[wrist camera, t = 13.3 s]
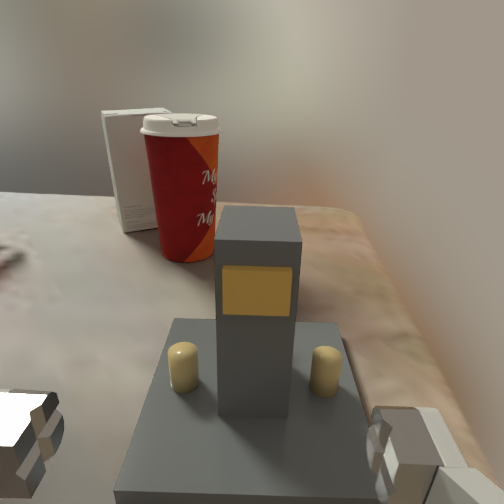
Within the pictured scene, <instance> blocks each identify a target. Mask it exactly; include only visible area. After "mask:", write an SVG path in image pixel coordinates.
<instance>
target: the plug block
mask: <svg viewBox="0 0 504 504" xmlns="http://www.w3.org/2000/svg"><path fill="white" fill-rule="evenodd" d="M301 253H302V238H301V234H300V230H299V226H298V222H297V218H296V214H295V209H294V208H293V207H257V206H224V208H223V211H222V215H221V218H220V221H219V225H218V228H217V231H216V235H215V238H214V255H215V301H216V347H217V393H218V416H240V417H268V418H288V408H289V396H290V384H291V372H292V360H293V348H294V336H295V324H296V312H297V300H298V289H299V277H300V265H301Z"/></svg>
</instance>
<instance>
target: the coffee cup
mask: <svg viewBox="0 0 504 504" xmlns="http://www.w3.org/2000/svg"><path fill="white" fill-rule="evenodd" d="M140 132H141V133H142V134H144V139H145V145H146V152H147V159H148V166H149V172H150V179H151V186H152V192H153V199H154V206H155V212H156V219H157V225H158V232H159V238H160V244H161V249H162V254H163V256H164V257H165V258H166V259H168V260H170V261H174V262H180V263H191V262H198V261H202V260H204V259H207V258H209V257H210V256H211V255H212V254H213V251H214V238H215V218H216V194H217V193H216V192H217V168H218V140H219V133H222V130H221V128H219V125H218V119H217V117H216V116H211V115H203V114H154V115H147V116H145V117H144V119H143V128H141V130H140Z"/></svg>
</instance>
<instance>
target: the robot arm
mask: <svg viewBox="0 0 504 504" xmlns="http://www.w3.org/2000/svg"><path fill="white" fill-rule="evenodd" d="M58 404H59V400H58V397H57V393H54V392H47V391H33V390H19V389H0V498H30V499H31V498H32V496H33V494H34V492H35V490H36V488H37V487H38V485H39V483H40V481H41V479H42V477H43V476H44V474H45V472H46V470H45V465H44V462H45V461H47V460H48V459H49V458H51V457H52V456H53V455H55V453H56V451H57V449H58V447H59V445H60V443H61V440H62V436H63V432H64V420H63V415H62V414H61V413H60V412H58V411H57V410H56V407H57V405H58ZM371 418H372V421H373V425H372V426H371V427H370V428H368V432H367V437H366V451H367V457H368V462H369V466H370V469H371V470H372V471H373V472H374V473H375V474H376V475H377V476H378V477H377V481H376V485H375V488H376V491H377V495H378V498H379V502H380V504H504V491H503V490H501V489H500V488H499V487H498V486H496V485H495V484H494V483H493V482H492V481H490V480H489V479H488V478H487V477H486V476H484V475H483V474H482V473H481V472H479V471H478V470H477V469H476V468H469V467H468V465H467V463H466V461H465V459H464V457H463V455H462V453H461V452H460V450H459V448H458V446H457V444H456V442H455V440H454V438H453V436H452V435H451V433H450V431H449V429H448V427H447V425H446V423H445V421H444V420H443V418H442V416H441V414H440V412H439V411H438V410H437V409H436V408H423V407H415V408H414V407H399V406H375V407H374V408H373V411H372V415H371Z"/></svg>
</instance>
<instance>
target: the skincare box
mask: <svg viewBox="0 0 504 504" xmlns="http://www.w3.org/2000/svg"><path fill="white" fill-rule="evenodd" d="M154 114H174V113H172V112H170V111H168V110H166V109H165V108H148V109H131V110H113V111H101V117H102V123H103V129H104V136H105V142H106V147H107V153H108V159H109V165H110V171H111V176H112V183H113V189H114V195H115V201H116V207H117V213H118V218H119V221H120V224H121V227H122V229H123V232H124V233H127V232H133V231H139V230H146V229H152V228H158V225H157V219H156V212H155V206H154V199H153V192H152V186H151V179H150V172H149V166H148V159H147V152H146V145H145V139H144V134H142V133H141V132H140V130H141V128H143V119H144V117H145V116H147V115H154Z"/></svg>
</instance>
